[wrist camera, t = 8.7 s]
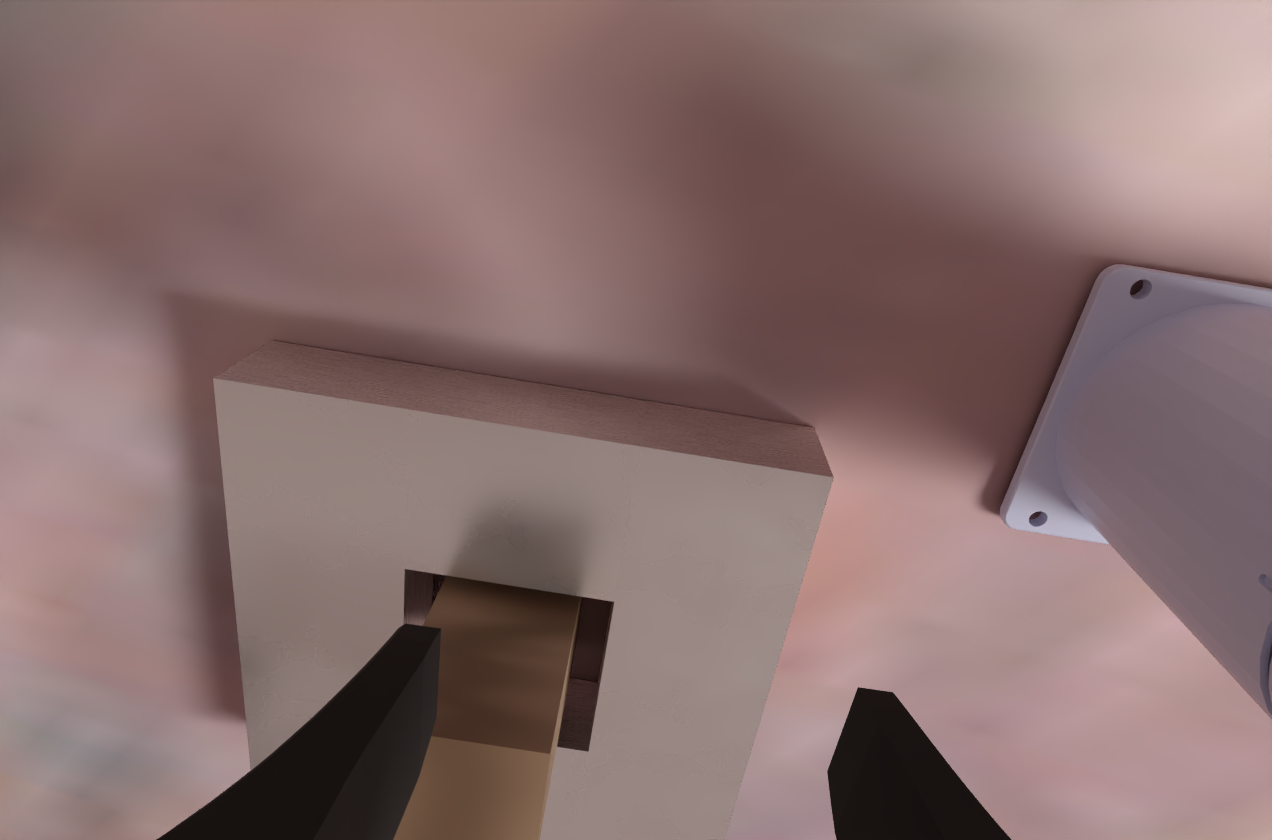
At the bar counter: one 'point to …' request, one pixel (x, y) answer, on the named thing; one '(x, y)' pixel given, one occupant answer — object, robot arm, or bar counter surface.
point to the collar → (522, 558)
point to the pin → (493, 711)
